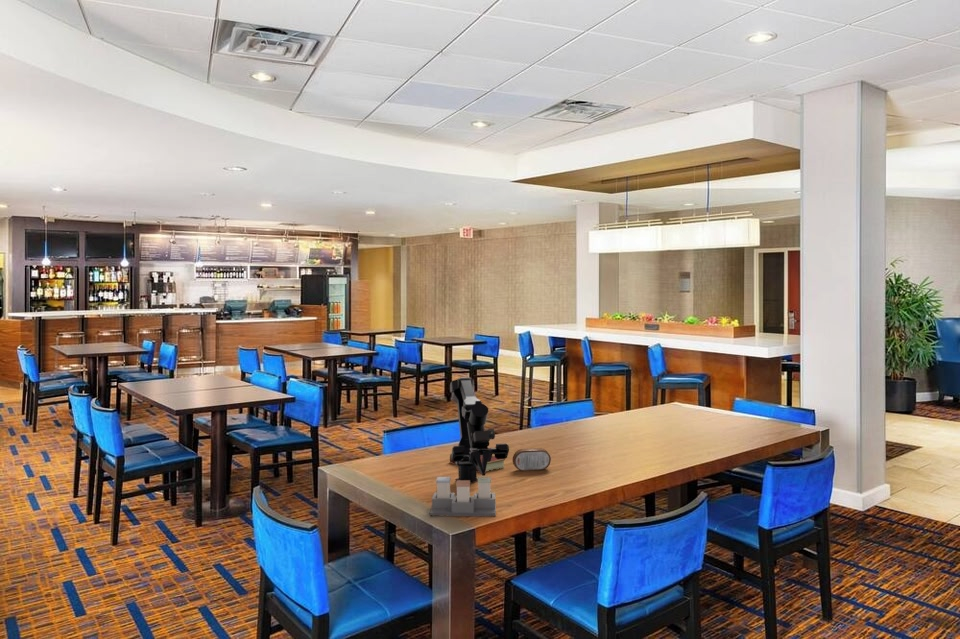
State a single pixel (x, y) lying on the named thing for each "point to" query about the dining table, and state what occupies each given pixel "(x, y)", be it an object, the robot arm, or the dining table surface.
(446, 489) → the grey upright block
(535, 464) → the tin
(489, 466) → the hardcover book
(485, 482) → the key
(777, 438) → the dining table surface
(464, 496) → the key
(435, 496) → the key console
